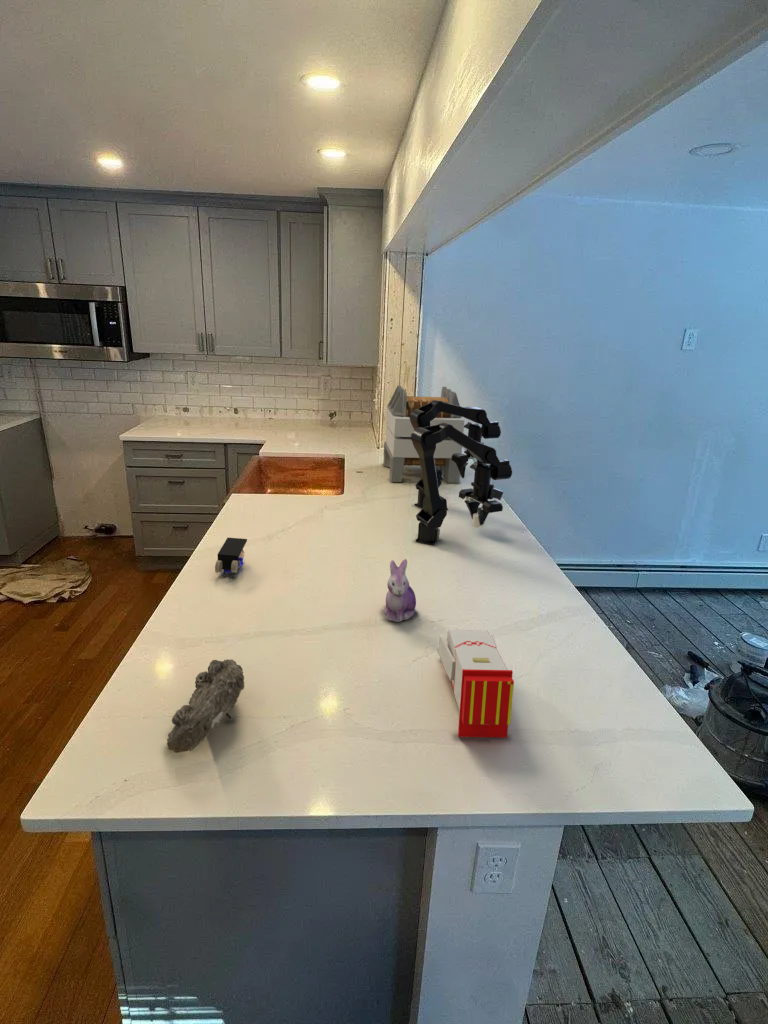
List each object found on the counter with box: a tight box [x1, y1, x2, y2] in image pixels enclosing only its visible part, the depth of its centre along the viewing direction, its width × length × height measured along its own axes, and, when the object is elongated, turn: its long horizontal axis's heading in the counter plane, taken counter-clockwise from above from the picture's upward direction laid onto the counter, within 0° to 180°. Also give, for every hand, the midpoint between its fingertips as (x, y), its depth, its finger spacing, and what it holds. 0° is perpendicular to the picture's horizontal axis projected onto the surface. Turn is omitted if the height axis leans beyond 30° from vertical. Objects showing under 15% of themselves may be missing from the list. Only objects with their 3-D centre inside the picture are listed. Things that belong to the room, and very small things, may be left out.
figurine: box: [384, 558, 417, 623], centre depth 145 cm, size 9×10×15 cm
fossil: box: [166, 658, 245, 754], centre depth 106 cm, size 22×10×15 cm
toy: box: [437, 628, 515, 738], centre depth 117 cm, size 12×13×30 cm
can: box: [471, 513, 485, 529], centre depth 202 cm, size 4×4×4 cm
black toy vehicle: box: [214, 537, 248, 578], centre depth 166 cm, size 7×8×15 cm
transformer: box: [383, 384, 465, 484], centre depth 268 cm, size 34×33×41 cm
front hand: (477, 522), depth 202 cm, fingers closed on can, 4 cm apart
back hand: (471, 476), depth 233 cm, fingers open, 9 cm apart
